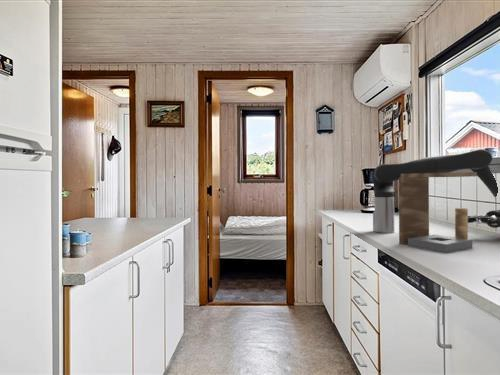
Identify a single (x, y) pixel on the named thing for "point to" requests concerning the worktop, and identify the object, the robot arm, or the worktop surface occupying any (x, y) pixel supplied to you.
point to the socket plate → (440, 243)
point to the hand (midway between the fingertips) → (477, 221)
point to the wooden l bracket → (417, 203)
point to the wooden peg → (461, 223)
